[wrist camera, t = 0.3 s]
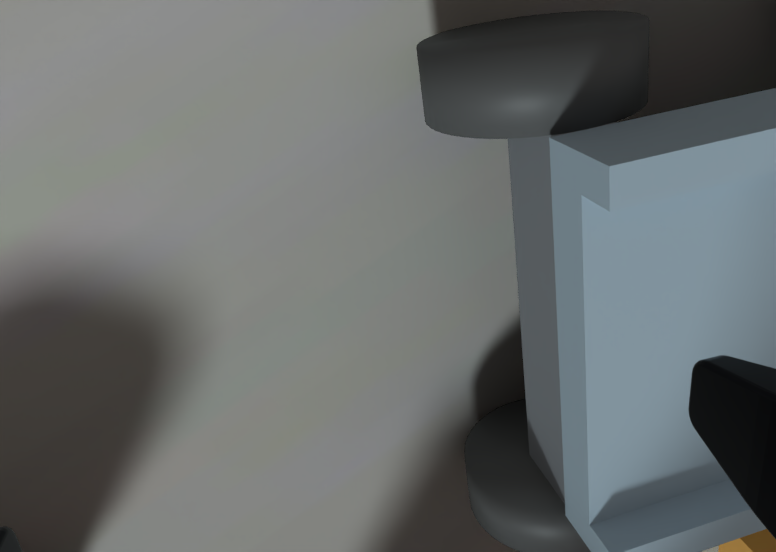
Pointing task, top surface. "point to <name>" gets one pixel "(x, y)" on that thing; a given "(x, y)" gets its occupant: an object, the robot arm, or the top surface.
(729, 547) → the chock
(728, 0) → the top surface
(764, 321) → the trolley
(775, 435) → the robot arm
